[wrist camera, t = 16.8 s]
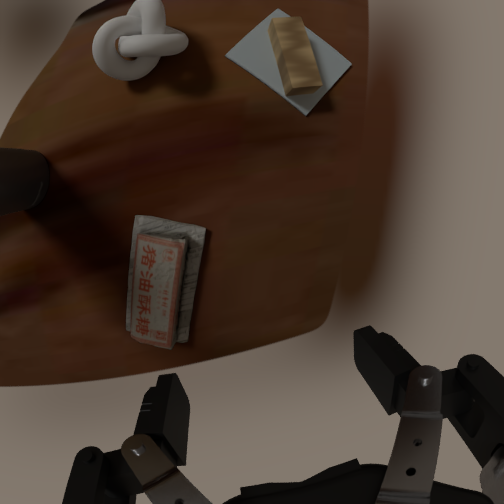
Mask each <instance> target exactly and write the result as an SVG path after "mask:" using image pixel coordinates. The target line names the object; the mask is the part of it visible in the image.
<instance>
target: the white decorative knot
mask: <svg viewBox="0 0 504 504" xmlns="http://www.w3.org/2000/svg"><path fill="white" fill-rule="evenodd" d="M119 37H120V39H119V44H118V51H119V53H120V55H122V56H124V57H137V59H136V60H133V61H128V60H125V59H124V58H122V57H121V56H120V55H119V54H118V53H117V51H116V49H115V41H116V39H117V38H119ZM187 46H188V38H187V36H186V35H185V33H183V32H181V31H179V30H176V29H174V28H171V27H169V26H166V18H165V9H164V5H163V3H162V1H161V0H137V1H135V2H134V3H133V5H132V6H131V8H130V9H129V11H128V13H127V16H121V17H117V18H113V19H111V20H109V21H107V22H106V23H105V24H104V25H102V26H101V27H100V29H99V30H98V31H97V33H96V35H95V37H94V40H93V45H92V52H93V56H94V60H95V62H96V64H97V65H98V67H99V68H100V69H101V70H102V71H103V72H104V73H105V74H107V75H108V76H110V77H112V78H115V79H119V80H125V81H131V80H136V79H139V78H142V77H144V76H146V75H147V74H148V73H149V72H150V71H151V70H152V69H153V68H154V67H155V66H156V65H157V63H158V61H159V59H160V57H161V56H170V55H176V54H178V53H180V52H182V51H184V50H185V49H186V47H187Z"/></svg>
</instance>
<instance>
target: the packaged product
mask: <svg viewBox="0 0 504 504" xmlns="http://www.w3.org/2000/svg"><path fill="white" fill-rule="evenodd" d="M205 231H206V228H204V227H201V226H197V225H193V224H187V223H180V222H176V221H171V220H167V219H162V218H158V217H153V216H143V215H135V222H134V228H133V235H132V246H131V254H130V264H129V275H128V288H129V289H128V292H127V313H126V330H128V331H130V332H131V337H132V338H133V339H135V340H137V341H138V342H139V343H146V344H151V345H154V346H157V347H160V348H161V347H162V348H167V349H170V350H172V348H173V347H174V344H175V343H176V342H181V343H184V342H187V341H188V336H189V327H190V321H191V315H192V309H193V301H194V295H195V290H196V285H197V280H198V273H199V267H200V262H201V257H202V251H203V246H204V241H205Z"/></svg>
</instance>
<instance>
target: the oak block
mask: <svg viewBox="0 0 504 504" xmlns="http://www.w3.org/2000/svg"><path fill="white" fill-rule="evenodd" d="M267 32H268V35H269V38H270V42H271V45H272V48H273V52H274V55H275V59H276V62H277V66H278V70H279V73H280V77H281V81H282V85H283V88H284V92H285V96H293V95H302V94H312V93H314V92H315V91H317V90H318V89H319V88H320V87H321V86H323V85H322V81H321V77H320V74H319V70H318V67H317V64H316V60H315V57H314V54H313V51H312V48H311V44H310V41H309V38H308V35H307V32H306V30H305V27H304V24H303V21H302V18H301V17H279V18H272V19H271V22H270V25H269V28H268V30H267Z"/></svg>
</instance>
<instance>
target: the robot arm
mask: <svg viewBox="0 0 504 504" xmlns="http://www.w3.org/2000/svg"><path fill="white" fill-rule="evenodd" d="M48 185H49V168H48V164H47V162H46V159H45V158H44V156H43V155H42V154H41V153H39V152H38V151H35V150H24V149H15V148H0V216H2V215H6V214H10V213H14V212H18V211H22V210H26V209H30V208H33V207H35V206H37V205H38V204H39V203H40V202H41V201H42V200H43V198H44V196H45V194H46V192H47V189H48ZM354 360H355V364H356V367H357V369H358V370H359V372H360V373H361V375H362V376H363V378H364V379H365V381H366V382H367V384H368V385H369V387H370V388H371V390H372V391H373V392H374V394H375V395H376V397H377V399H378V400H379V402H380V403H381V405H382V406H383V407H384V409H385V411H386V412H387V414H388V415H391V414H394V413H396V412H397V413H398V414H399V415H400V417H401V419H400V423H399V428H398V432H397V435H396V439H395V443H394V447H393V450H392V454H391V457H390V460H389V464H388V466H387V465H382V464H362V465H360V464H359V462H358V460H357V458H356V459H353V460H351V461H348V462H345V463H342V464H339V465H336V466H333V467H330V468H328V469H326V470H324V471H322V472H320V473H318V474H316V475H314V476H312V477H311V478H308V479H307V480H304V481H302V482H293V483H292V482H291V483H290V482H289V483H265V484H259V485H254V486H247V487H241V488H240V490H241V495H238V496H236V497H233V498H231V499H229V500H228V501H226V502H224V503H223V504H504V377H503V376H502V375H501V374H500V373H499V372H498V371H497V370H496V369H495V368H494V367H493V366H492V365H490V363H488V362H487V361H486V360H485V359H484V358H483V357H481V356H479V355H475V354H470V355H466V356H464V357H462V358H461V359H460V360H459V362H458V366H457V368H454V369H449V370H445V371H439V369H437V368H436V367H433V366H429V365H424V366H421V365H420V364H419V363H418V362H417V361H416V360H415V359H414V358H413V357H412V356H411V355H410V354H409V353H408V352H407V351H406V350H405V349H403V347H402V346H401V345H400V344H398V342H397V341H396V340H395V339H394V338H393V337H392V336H391V335H388V334H386V333H384V332H382V333H379V334H378V333H377V332H376V331H375V330H374V329H373V328H372V327H371V326H366V327H364V328H361V329H357V330H355V331H354ZM189 416H190V404H189V400H188V397H187V395H186V393H185V391H184V388H183V386H182V384H181V382H180V380H179V378H178V376H177V374H176V373H172V374H165V375H159V377H158V380H157V384H156V387H150V389H149V390H148V391H147V392H146V394H145V395H144V398H143V402H142V406H141V409H140V413H139V416H138V420H137V423H136V427H135V431H134V435H133V436H131V437H129V438H128V439H126V440H125V441H124V442H123V444H122V446H121V449H119V450H115V451H111V452H106V453H103V452H102V451H101V450H100V449H99V448H97V447H94V446H90V447H85V448H83V449H82V450H80V451H79V452H78V453H77V455H76V457H75V460H74V463H73V466H72V470H71V473H70V477H69V480H68V483H67V487H66V491H65V494H64V499H63V502H62V504H135V503H136V494H140V493H144V492H145V494H146V495H147V497H148V498H149V499H150V501H151V502H152V503H153V504H212V503H211V502H210V501H209V500H208V499H207V498H206V497H205V496H204V495H203V494H202V493H201V492H200V491H199V490H198V489H197V488H196V487H195V486H193V484H192V483H191V482H190V481H189V480H188V479H187V478H186V477H185V476H184V475H183V474H182V473H181V472H180V471H179V470H178V468H177V466H185V465H186V454H187V441H188V427H189ZM444 418H448V419H449V421H450V422H451V424H452V425H453V426H454V427H455V429H456V430H457V432H458V433H459V435H460V436H461V438H462V439H463V440H464V442H465V443H466V445H467V446H468V448H469V449H470V451H471V452H472V453H473V455H474V457H475V458H476V459H477V461H478V462H479V464H480V465H481V467H482V471H481V474H480V483H481V488H482V493H481V492H478V491H473V490H469V489H464V488H459V487H456V486H452V485H448V484H444V483H440V482H437V481H434V480H433V479H434V474H435V469H436V464H437V457H438V452H439V445H440V437H441V429H442V420H443V419H444Z"/></svg>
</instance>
